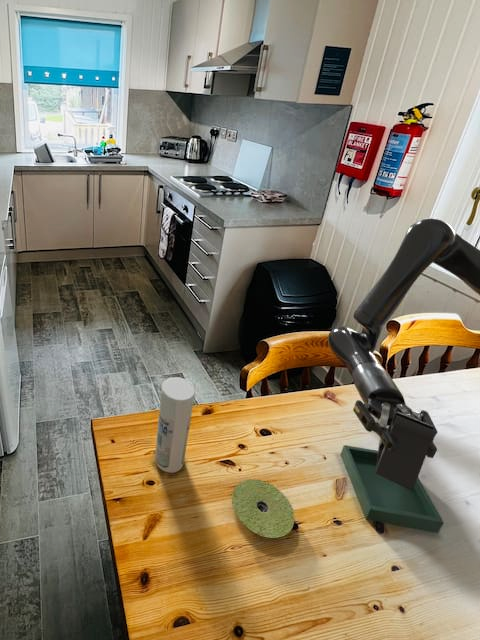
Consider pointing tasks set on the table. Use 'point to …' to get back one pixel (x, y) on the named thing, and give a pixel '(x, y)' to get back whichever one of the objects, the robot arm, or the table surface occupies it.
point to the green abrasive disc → (263, 508)
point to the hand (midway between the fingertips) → (412, 451)
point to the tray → (388, 494)
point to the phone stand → (405, 450)
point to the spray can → (174, 423)
